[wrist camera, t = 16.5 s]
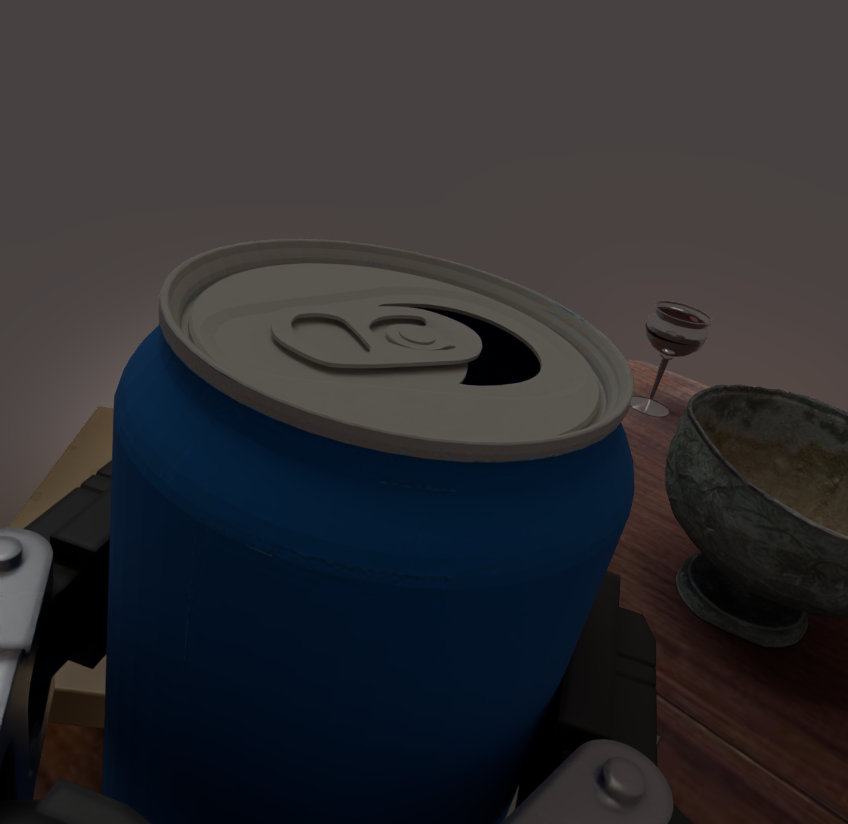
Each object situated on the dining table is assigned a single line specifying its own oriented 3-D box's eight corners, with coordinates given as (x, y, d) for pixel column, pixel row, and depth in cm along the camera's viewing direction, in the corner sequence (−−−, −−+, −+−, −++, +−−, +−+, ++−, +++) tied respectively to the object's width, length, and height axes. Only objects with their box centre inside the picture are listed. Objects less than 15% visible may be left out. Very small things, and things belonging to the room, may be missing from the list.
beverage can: (511, 1000, 14) (792, 440, 9) (138, 1204, 11) (207, 516, 5) (365, 719, 19) (486, 239, 13) (73, 803, 16) (75, 215, 10)
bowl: (770, 743, 50) (877, 560, 43) (575, 555, 64) (633, 393, 57) (925, 660, 61) (1031, 503, 54) (729, 514, 75) (794, 373, 68)
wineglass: (663, 426, 89) (700, 329, 83) (610, 401, 92) (643, 305, 87) (685, 410, 94) (722, 317, 88) (634, 387, 97) (666, 296, 92)
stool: (-47, 1001, 31) (-101, 670, 22) (98, 681, 45) (98, 405, 36) (264, 1027, 32) (322, 721, 23) (309, 707, 46) (355, 446, 38)
